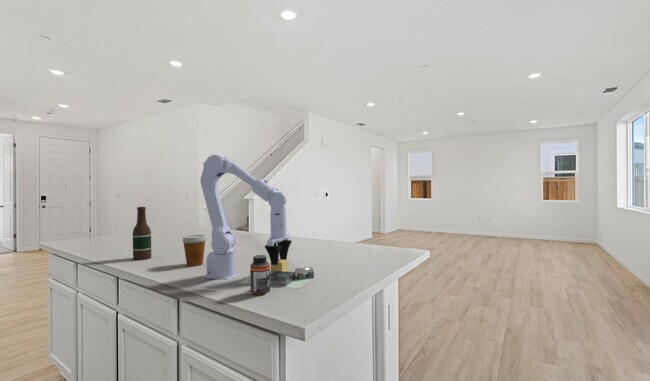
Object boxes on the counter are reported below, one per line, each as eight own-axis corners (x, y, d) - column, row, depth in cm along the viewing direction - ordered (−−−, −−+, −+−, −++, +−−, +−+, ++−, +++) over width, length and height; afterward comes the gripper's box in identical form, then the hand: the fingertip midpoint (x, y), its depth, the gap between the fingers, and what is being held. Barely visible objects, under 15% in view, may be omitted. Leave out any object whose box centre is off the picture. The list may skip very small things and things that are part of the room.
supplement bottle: (252, 289, 104) (251, 254, 103) (270, 289, 104) (270, 253, 104) (249, 296, 98) (248, 258, 97) (269, 295, 98) (268, 257, 98)
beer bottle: (155, 257, 152) (154, 206, 152) (138, 261, 146) (137, 207, 145) (146, 256, 156) (145, 206, 156) (129, 259, 150) (128, 207, 149)
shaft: (298, 281, 112) (298, 270, 112) (294, 278, 115) (294, 267, 115) (314, 278, 115) (314, 267, 115) (309, 276, 118) (309, 265, 118)
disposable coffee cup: (180, 264, 139) (179, 236, 139) (202, 260, 145) (202, 233, 145) (186, 268, 131) (185, 238, 131) (210, 264, 137) (209, 236, 137)
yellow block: (270, 275, 118) (270, 261, 118) (276, 272, 122) (275, 258, 122) (282, 276, 117) (282, 261, 117) (287, 273, 121) (287, 259, 121)
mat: (238, 284, 110) (238, 283, 110) (260, 271, 125) (260, 270, 125) (299, 289, 103) (299, 288, 103) (315, 275, 119) (315, 274, 119)
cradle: (263, 285, 108) (263, 276, 108) (274, 278, 116) (274, 270, 116) (286, 287, 106) (286, 278, 106) (295, 280, 113) (295, 271, 113)
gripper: (280, 227, 111) (281, 267, 111) (295, 223, 125) (296, 258, 125) (261, 227, 113) (262, 266, 113) (279, 222, 127) (279, 257, 127)
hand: (279, 262), depth 119 cm, fingers open, 7 cm apart
